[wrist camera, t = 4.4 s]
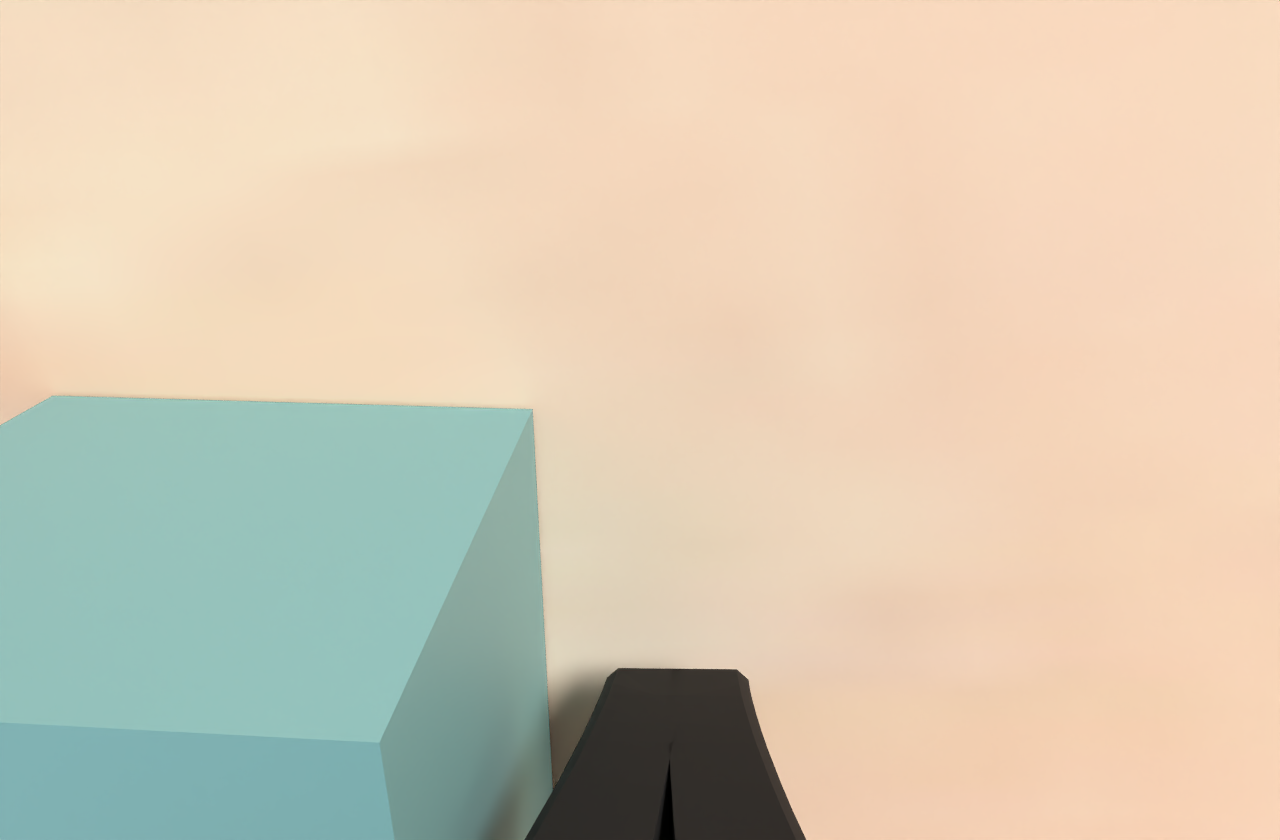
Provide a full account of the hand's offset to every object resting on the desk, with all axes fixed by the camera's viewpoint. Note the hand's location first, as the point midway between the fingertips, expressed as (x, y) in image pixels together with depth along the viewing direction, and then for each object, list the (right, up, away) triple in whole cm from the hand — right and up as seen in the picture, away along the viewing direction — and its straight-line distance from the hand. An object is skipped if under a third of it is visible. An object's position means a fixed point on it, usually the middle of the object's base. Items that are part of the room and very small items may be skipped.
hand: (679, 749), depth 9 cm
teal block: (-4, +1, +2) cm, 4 cm away
